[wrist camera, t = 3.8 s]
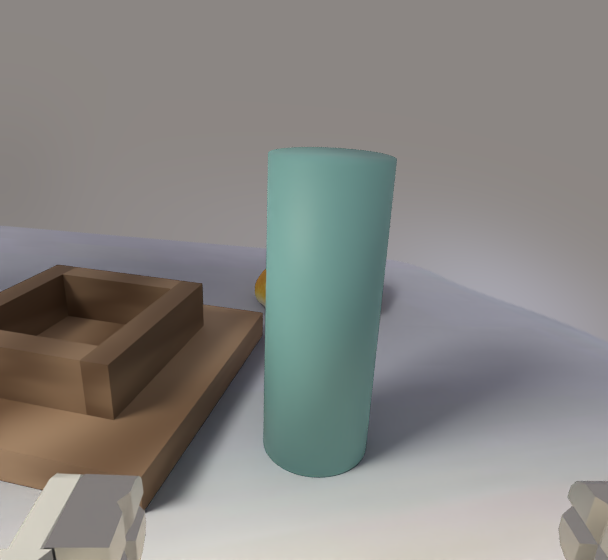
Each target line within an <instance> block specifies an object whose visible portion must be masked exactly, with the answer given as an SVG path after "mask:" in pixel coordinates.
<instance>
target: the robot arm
mask: <svg viewBox="0 0 608 560" xmlns="http://www.w3.org/2000/svg"><path fill="white" fill-rule="evenodd" d="M142 495H143V485H142V478H141V477H139V476H128V475H101V474H84V475H81V474H59V473H57V474H55V475H54V476H53V477H51V478H50V479H49V481H48V482H47V484H46V486H45V487H44V489H43V491H42V492H41V494H40V496H39V497H38V499H37V501H36V502H35V504H34V506H33V507H32V509H31V511H30V513H29V514H28V516H27V518H26V519H25V521H24V523H23V524H22V526H21V528H20V529H19V531H18V533H17V534H16V536H15V538H14V539H13V541H12V543H11V544H10V546H9V548H8V549H0V560H141V556H142V553H143V547H144V541H145V533H146V517H145V511H144V510H143V509H142V508H141V507H140V506H139V504H140V501H141V498H142ZM568 499H569V501H570V502H571V504H572V507H571V508H570V509H569V510H567V511H566V512H565V513H564V514H563V515H562V517H561V521H560V525H559V539H560V546H561V548H562V551H563V554H564V557H565V559H566V560H608V481H576V482H575V483H574V484H573V485H572V486H571V487H570V491H569V494H568Z"/></svg>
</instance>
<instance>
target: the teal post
mask: <svg viewBox="0 0 608 560" xmlns="http://www.w3.org/2000/svg"><path fill="white" fill-rule="evenodd" d="M396 163H397V159H396V158H395V157H393V156H390V155H387V154H383V153H378V152H371V151H364V150H356V149H344V148H326V147H325V148H324V147H294V148H282V149H276V150H272V151H270V152H269V153H268V198H267V199H268V200H267V254H266V313H265V372H264V431H263V443H264V448H265V451H266V453H267V454H268V456H269V457H270V458H271V459H272V461H273V462H275V463H276V464H277V465H278V466H280V467H281V468H283V469H285V470H287V471H289V472H292V473H295V474H298V475H302V476H308V477H329V476H334V475H338V474H341V473H344V472H346V471H348V470H350V469H352V468H353V467H355V466H356V465H357V464H358V463H359V462H360V461H361V459H362V458H363V456H364V454H365V451H366V443H367V433H368V424H369V415H370V405H371V396H372V387H373V377H374V368H375V359H376V349H377V340H378V331H379V321H380V312H381V303H382V293H383V284H384V275H385V265H386V256H387V247H388V237H389V228H390V219H391V209H392V200H393V191H394V181H395V171H396Z"/></svg>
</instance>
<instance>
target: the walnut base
mask: <svg viewBox="0 0 608 560" xmlns="http://www.w3.org/2000/svg"><path fill="white" fill-rule="evenodd" d="M262 331H263V313H261V312H254V311H246V310H239V309H232V308H225V307H218V306H210V305H203V287H202V283H195V282H187V281H179V280H172V279H164V278H156V277H149V276H141V275H133V274H126V273H118V272H110V271H103V270H95V269H87V268H80V267H72V266H64V265H56V266H54V267H52V268H50V269H48V270H46V271H43V272H41V273H39V274H37V275H35V276H33V277H31V278H29V279H27V280H25V281H23V282H20V283H18V284H16V285H14V286H12V287H10V288H8V289H6V290H4V291H2V292H0V480H2V481H6V482H10V483H15V484H19V485H23V486H28V487H32V488H36V489H41V490H43V489H44V487H45V486H46V484H47V482H48V481H49V479H50V478H51V477H53V476H54V475H55V474H57V473H59V474H81V475H84V474H101V475H128V476H139V477H141V478H142V485H143V495H142V498H141V501H140V504H139V506H140V507H141V508H142V509H143V510H145V509H146V507H147V506H148V504H149V503H150V502H151V500H152V499H153V497H154V496H155V494H156V493H157V491H158V490H159V488H160V487H161V485H162V484H163V482H164V481H165V479H166V478H167V476H168V475H169V473H170V472H171V470H172V469H173V467H174V466H175V464H176V463H177V461H178V460H179V458H180V457H181V456H182V454H183V453H184V451H185V450H186V448H187V447H188V445H189V444H190V442H191V441H192V439H193V438H194V436H195V435H196V433H197V432H198V430H199V429H200V427H201V426H202V424H203V423H204V421H205V420H206V418H207V417H208V415H209V414H210V412H211V411H212V410H213V408H214V407H215V405H216V404H217V402H218V401H219V399H220V398H221V396H222V395H223V393H224V392H225V390H226V389H227V387H228V386H229V384H230V383H231V381H232V380H233V378H234V377H235V375H236V374H237V372H238V371H239V369H240V368H241V366H242V365H243V364H244V362H245V361H246V359H247V358H248V356H249V355H250V353H251V352H252V350H253V349H254V347H255V346H256V344H257V343H258V341H259V340H260V338H261V337H262Z"/></svg>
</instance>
